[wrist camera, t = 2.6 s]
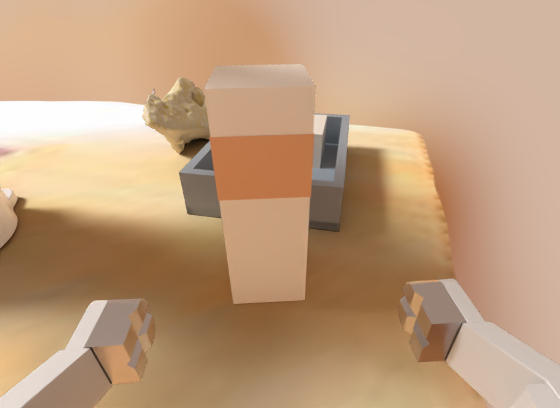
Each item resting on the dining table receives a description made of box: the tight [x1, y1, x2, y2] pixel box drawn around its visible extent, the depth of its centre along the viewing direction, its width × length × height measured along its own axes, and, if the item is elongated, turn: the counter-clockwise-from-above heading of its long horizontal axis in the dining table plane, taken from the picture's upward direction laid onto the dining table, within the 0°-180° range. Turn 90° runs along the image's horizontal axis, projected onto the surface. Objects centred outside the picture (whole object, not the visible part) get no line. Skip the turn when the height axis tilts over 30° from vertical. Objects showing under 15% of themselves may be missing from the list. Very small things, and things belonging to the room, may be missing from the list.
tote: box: [179, 113, 350, 232], centre depth 40 cm, size 16×20×5 cm
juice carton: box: [204, 64, 316, 304], centre depth 23 cm, size 6×6×16 cm
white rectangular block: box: [313, 115, 327, 169], centre depth 43 cm, size 10×7×4 cm
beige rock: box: [142, 77, 210, 153], centre depth 49 cm, size 15×7×15 cm
